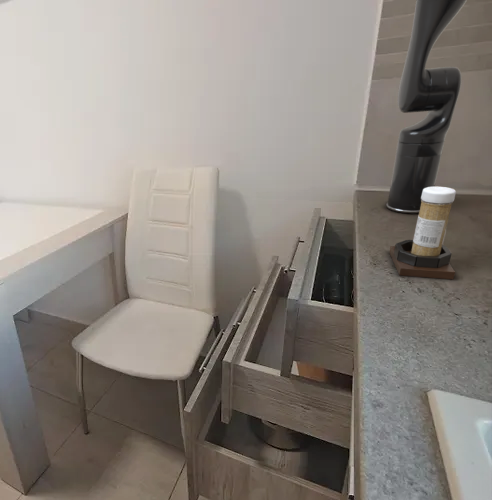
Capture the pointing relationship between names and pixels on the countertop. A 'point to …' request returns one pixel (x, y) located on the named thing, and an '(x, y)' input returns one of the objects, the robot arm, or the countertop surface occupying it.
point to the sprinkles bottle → (432, 220)
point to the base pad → (421, 262)
